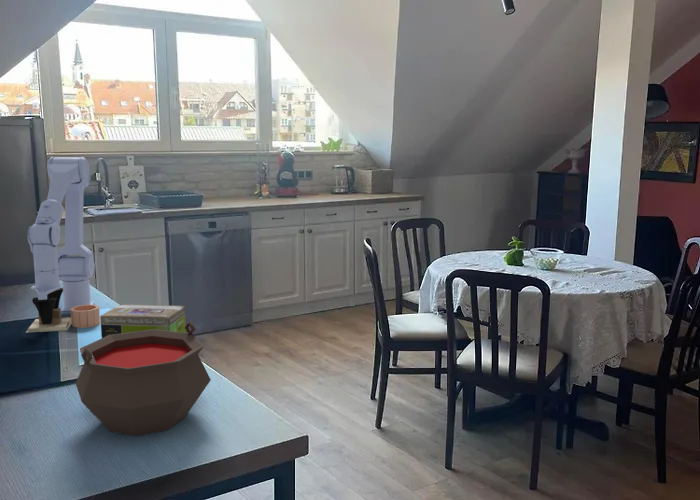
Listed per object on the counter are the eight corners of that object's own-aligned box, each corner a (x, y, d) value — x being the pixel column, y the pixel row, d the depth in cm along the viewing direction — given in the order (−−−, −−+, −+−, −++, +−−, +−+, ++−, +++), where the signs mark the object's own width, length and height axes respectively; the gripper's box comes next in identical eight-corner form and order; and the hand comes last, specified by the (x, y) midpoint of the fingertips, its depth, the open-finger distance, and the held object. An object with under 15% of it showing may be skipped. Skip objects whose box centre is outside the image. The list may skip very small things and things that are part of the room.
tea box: (188, 369, 147) (186, 304, 144) (172, 386, 137) (169, 317, 134) (123, 366, 148) (120, 302, 145) (102, 383, 138) (98, 314, 136)
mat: (34, 323, 179) (34, 321, 179) (74, 321, 181) (73, 319, 181) (25, 334, 170) (25, 332, 169) (67, 332, 172) (67, 330, 172)
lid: (35, 321, 179) (34, 306, 178) (71, 320, 181) (70, 304, 180) (28, 331, 170) (26, 315, 169) (65, 329, 172) (64, 313, 171)
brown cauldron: (162, 383, 138) (159, 307, 135) (239, 415, 123) (237, 331, 120) (49, 421, 120) (43, 334, 117) (123, 464, 105) (118, 366, 102)
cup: (74, 323, 180) (73, 305, 179) (101, 321, 182) (100, 303, 181) (69, 330, 173) (68, 312, 172) (98, 328, 175) (97, 310, 174)
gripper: (36, 264, 179) (39, 313, 181) (23, 276, 165) (27, 328, 167) (64, 263, 180) (67, 311, 183) (53, 274, 166) (57, 326, 169)
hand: (50, 319), depth 175 cm, fingers open, 7 cm apart
